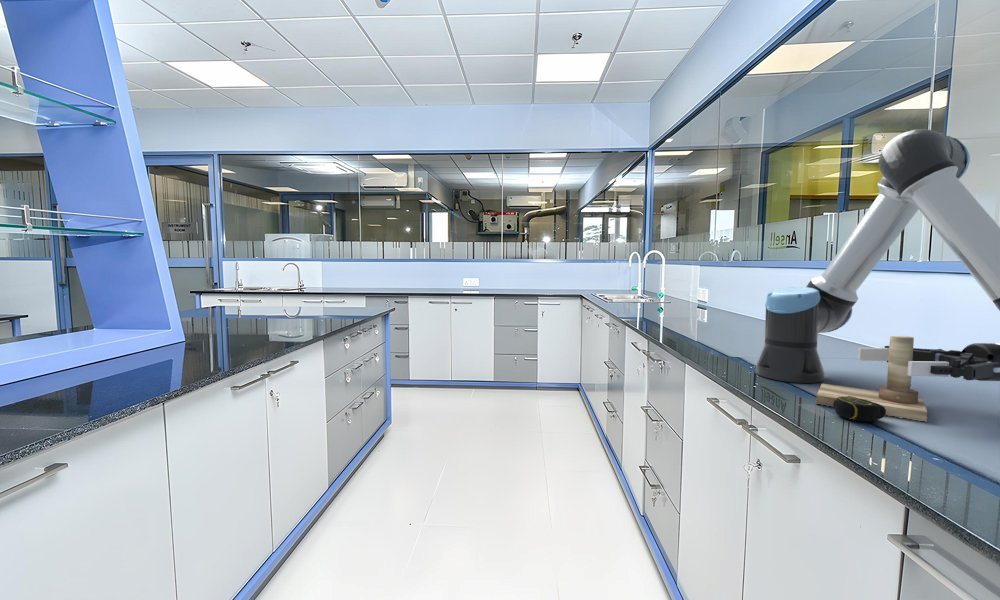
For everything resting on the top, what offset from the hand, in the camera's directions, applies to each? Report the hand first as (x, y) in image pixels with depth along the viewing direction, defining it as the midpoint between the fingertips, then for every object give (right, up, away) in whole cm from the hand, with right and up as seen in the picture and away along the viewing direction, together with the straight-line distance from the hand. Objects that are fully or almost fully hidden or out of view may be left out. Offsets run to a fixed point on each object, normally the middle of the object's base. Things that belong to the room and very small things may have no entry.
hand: (882, 360), depth 90 cm
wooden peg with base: (+3, -8, 0) cm, 9 cm away
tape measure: (-9, -11, -4) cm, 15 cm away
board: (-1, -10, +3) cm, 10 cm away
